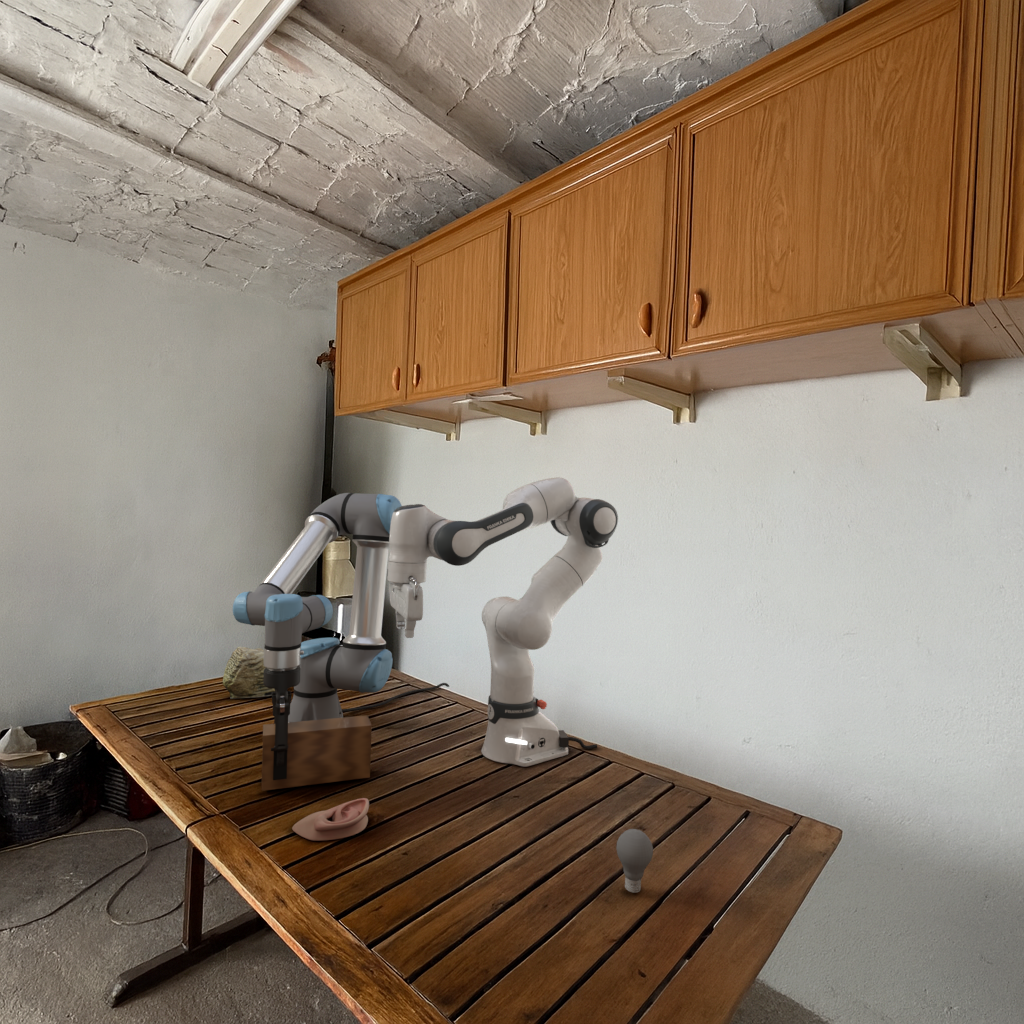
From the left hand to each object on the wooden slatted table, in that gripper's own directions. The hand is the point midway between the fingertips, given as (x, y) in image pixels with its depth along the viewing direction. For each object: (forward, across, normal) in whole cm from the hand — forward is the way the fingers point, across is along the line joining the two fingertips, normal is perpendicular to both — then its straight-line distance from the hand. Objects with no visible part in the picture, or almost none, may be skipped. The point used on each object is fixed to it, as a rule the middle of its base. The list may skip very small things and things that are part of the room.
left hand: (279, 771), depth 138 cm
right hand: (-29, +1, -27) cm, 39 cm away
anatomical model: (+3, -21, -9) cm, 23 cm away
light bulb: (+3, -56, -54) cm, 78 cm away
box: (+2, 0, -8) cm, 8 cm away
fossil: (+4, +67, +6) cm, 67 cm away
